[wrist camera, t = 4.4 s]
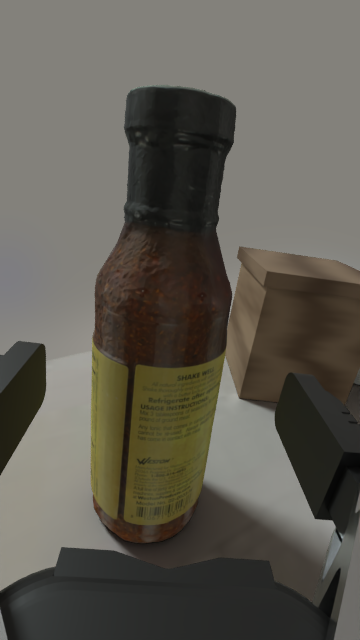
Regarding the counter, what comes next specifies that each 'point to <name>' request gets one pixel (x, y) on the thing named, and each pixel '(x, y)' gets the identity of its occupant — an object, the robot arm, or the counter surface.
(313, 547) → the counter surface
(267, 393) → the brown wooden box
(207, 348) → the sauce bottle
